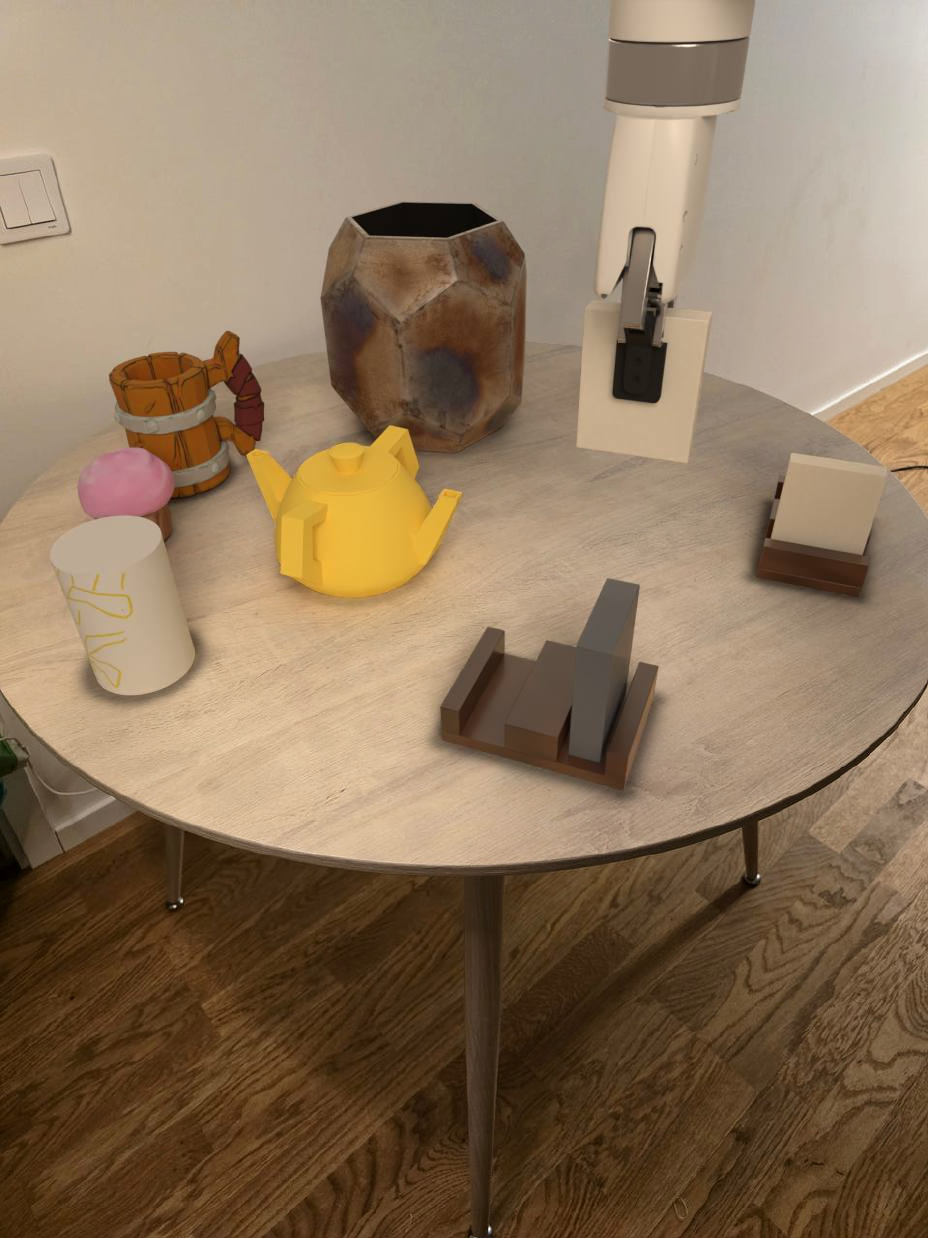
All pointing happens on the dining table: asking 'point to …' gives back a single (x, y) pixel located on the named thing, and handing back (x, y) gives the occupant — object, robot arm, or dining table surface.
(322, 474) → the teapot
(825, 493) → the white book
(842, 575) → the rack
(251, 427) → the mug
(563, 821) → the dining table surface
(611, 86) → the robot arm
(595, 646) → the grey book
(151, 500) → the cupcake
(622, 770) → the rack
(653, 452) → the white book
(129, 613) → the cup
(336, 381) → the planter
